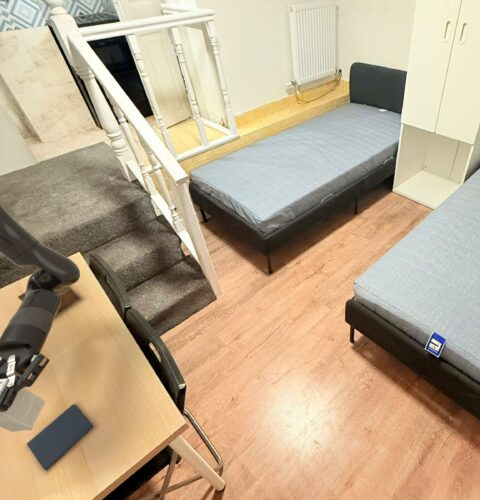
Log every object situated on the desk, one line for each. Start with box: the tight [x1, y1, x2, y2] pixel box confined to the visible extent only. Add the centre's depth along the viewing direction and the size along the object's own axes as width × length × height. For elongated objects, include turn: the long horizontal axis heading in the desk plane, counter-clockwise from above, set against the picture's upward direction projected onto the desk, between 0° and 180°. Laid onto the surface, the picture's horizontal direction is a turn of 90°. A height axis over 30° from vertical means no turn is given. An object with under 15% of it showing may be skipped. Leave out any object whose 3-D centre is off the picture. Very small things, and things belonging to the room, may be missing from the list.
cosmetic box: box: [0, 378, 46, 433], centre depth 67 cm, size 6×4×12 cm
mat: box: [26, 403, 94, 471], centre depth 79 cm, size 11×9×1 cm
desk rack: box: [17, 286, 80, 315], centre depth 106 cm, size 11×11×5 cm
